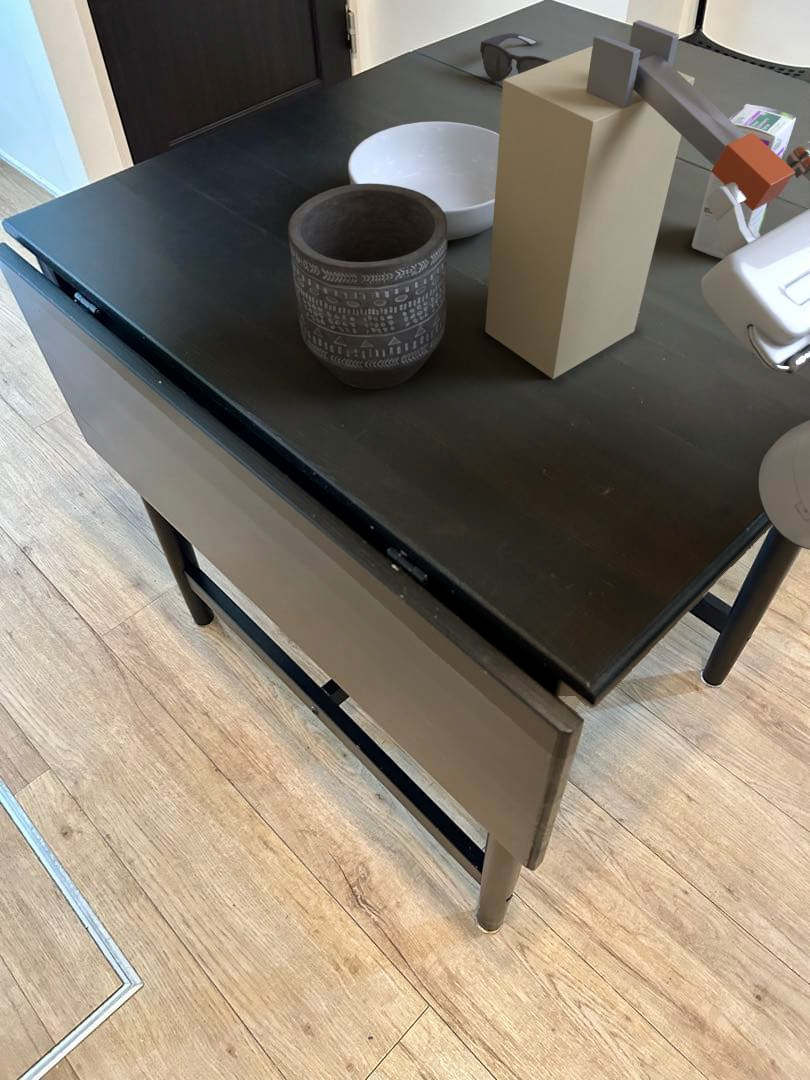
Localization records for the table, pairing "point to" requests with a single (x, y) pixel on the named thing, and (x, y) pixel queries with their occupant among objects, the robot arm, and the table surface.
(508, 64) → the sunglasses
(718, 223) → the robot arm
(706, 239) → the syrup box
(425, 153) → the serving bowl
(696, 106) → the lever
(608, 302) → the lever stand
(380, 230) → the planter
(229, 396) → the table surface
